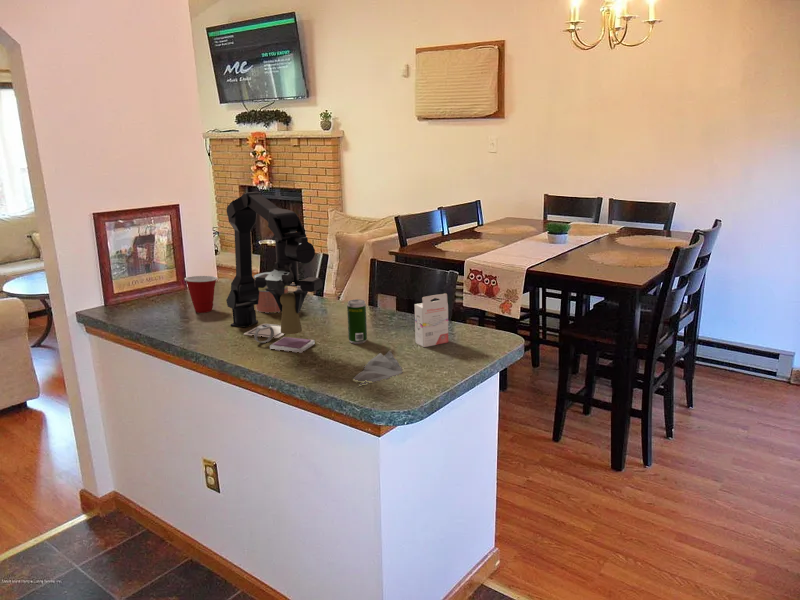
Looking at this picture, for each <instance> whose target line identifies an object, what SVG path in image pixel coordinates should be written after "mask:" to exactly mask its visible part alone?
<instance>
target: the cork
mask: <svg viewBox="0 0 800 600" xmlns="http://www.w3.org/2000/svg"><path fill="white" fill-rule="evenodd" d="M280 302H281V304H282V312H281V318H280V319H281V321H280V325H281V333H283V334H285V335H294V334H295V335H296V334H299V333H301V332H302V331H303V327H302V322H301V318H300V312H299V313H296V297H295V294H294V293H293V292H288V293H284V294H282V295H281V297H280Z"/></svg>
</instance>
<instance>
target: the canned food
mask: <svg viewBox="0 0 800 600" xmlns="http://www.w3.org/2000/svg"><path fill="white" fill-rule="evenodd" d="M270 272H271V271H265V272H260V273H257V274H254V275H253V278H254V279H256V277H258V276H261V275H263V274H270ZM288 287H289V286H285V288H284V293H289V289H288ZM265 289H267V285H266V286H265V287H264V288H259V301H258V305H255V307H256V309H255V311H256V312H258V311H259V312H258V313H261V312H265V313H264V314H270V313H269V312H278V313H280V312H279V311H280V309H279V307H278V304H277V302H276V300H275V298H274V296H273V295H272V294H271V293H270V292H269V291H266V290H265Z"/></svg>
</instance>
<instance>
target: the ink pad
mask: <svg viewBox="0 0 800 600" xmlns="http://www.w3.org/2000/svg"><path fill="white" fill-rule="evenodd" d="M315 343H316V342H315V339H308V338H307V339H306V338H297V337H288V336H282V337H280V338H279V339H278V340H277V341H275V342H272V344H270V345H269V350H271V349H275V350H274V351H280V350H284V351H283V352H289V351H292V352H291V353H297V352H299V353H298V354H301V353H304V352H305V351H306V350H308V349H309V348H311V347H312V346H314V345H315ZM303 351H304V352H303Z"/></svg>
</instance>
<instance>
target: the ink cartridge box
mask: <svg viewBox="0 0 800 600" xmlns="http://www.w3.org/2000/svg"><path fill="white" fill-rule="evenodd" d="M421 299H422V300H421V301H422V302H421V303H414V333H415V335H414V336H415V338H414V339H415V340H414V341H415V344H417V345H419V346H420V347H423V348H427V347H433V346H436V345H441V344H447V343H449V304H448V294H447V293H445V292H444V293H440V294H433V295H427V296H423V297H422V298H421ZM434 299H436V300H434ZM437 299H438V300H437ZM432 300H434V301H432Z"/></svg>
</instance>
